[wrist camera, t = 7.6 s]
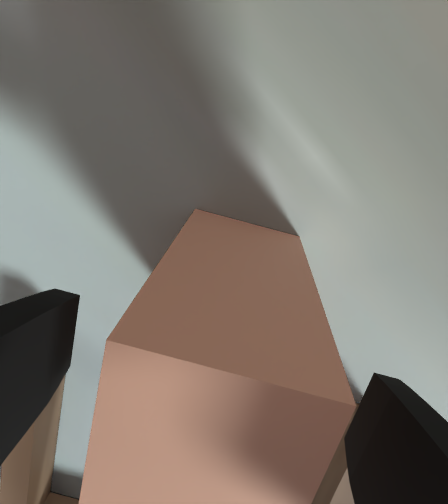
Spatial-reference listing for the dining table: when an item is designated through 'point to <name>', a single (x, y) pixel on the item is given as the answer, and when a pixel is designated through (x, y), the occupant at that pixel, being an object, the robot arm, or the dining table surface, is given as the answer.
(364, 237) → the dining table surface
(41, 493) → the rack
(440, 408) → the dining table surface
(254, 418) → the block
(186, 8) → the dining table surface
